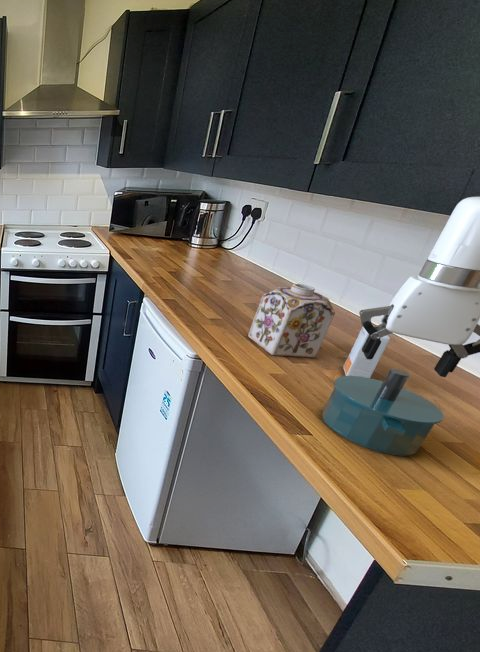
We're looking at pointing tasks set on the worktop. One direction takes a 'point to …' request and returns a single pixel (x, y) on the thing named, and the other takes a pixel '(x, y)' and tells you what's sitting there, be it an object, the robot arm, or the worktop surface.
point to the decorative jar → (292, 321)
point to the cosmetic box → (363, 357)
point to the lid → (389, 398)
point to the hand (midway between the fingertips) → (402, 364)
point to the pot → (373, 427)
